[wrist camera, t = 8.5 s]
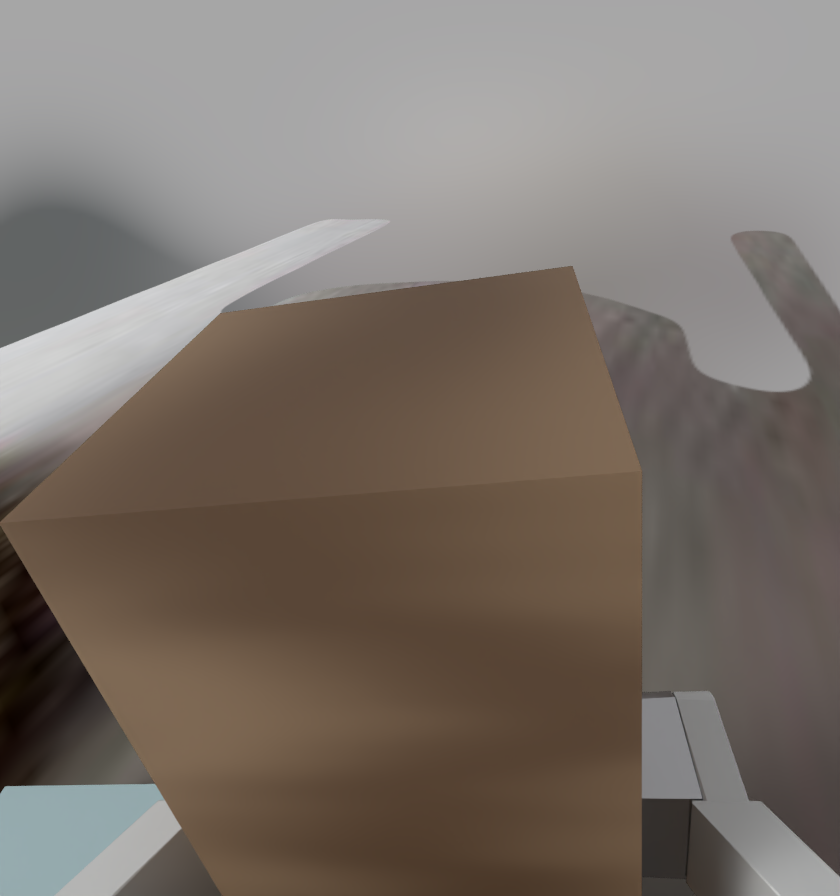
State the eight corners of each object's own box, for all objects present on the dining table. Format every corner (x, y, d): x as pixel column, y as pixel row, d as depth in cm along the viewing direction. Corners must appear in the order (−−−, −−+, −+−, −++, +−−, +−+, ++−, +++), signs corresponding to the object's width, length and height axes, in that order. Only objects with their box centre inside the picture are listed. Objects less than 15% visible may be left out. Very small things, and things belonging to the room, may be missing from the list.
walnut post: (387, 1173, 12) (-2, 523, 5) (414, 904, 16) (219, 313, 9) (641, 1197, 11) (642, 470, 4) (605, 909, 15) (572, 265, 8)
